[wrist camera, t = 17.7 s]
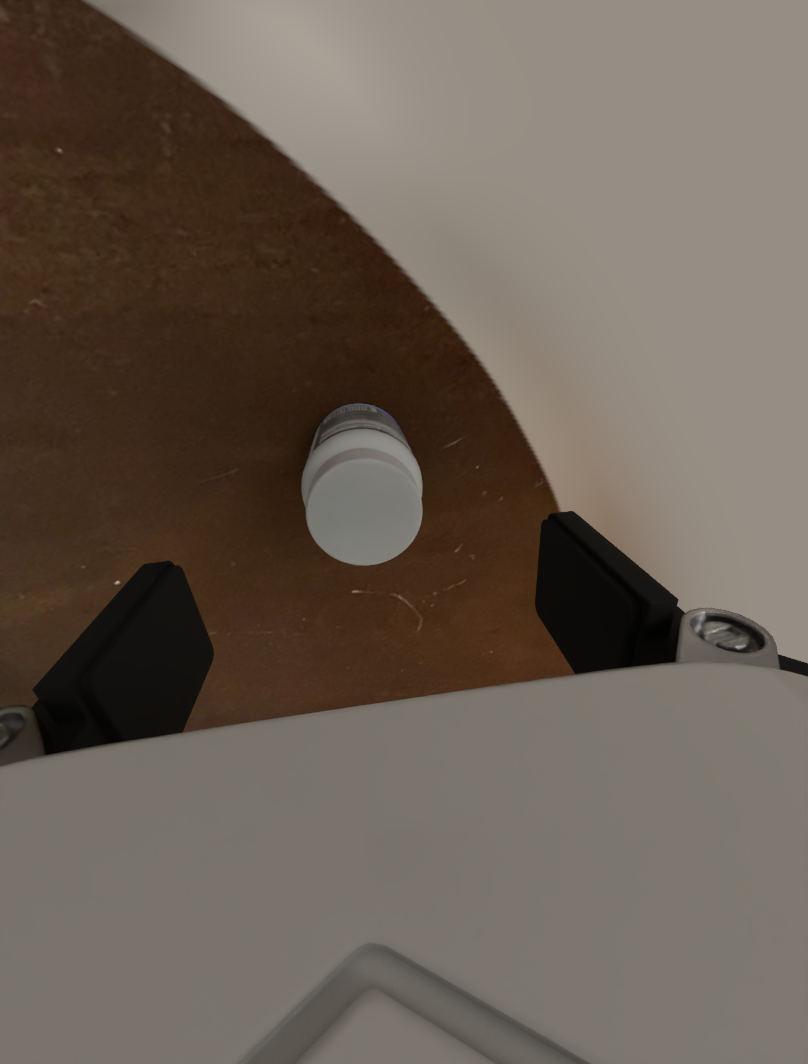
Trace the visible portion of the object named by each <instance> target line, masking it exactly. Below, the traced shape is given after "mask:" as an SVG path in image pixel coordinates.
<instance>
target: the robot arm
mask: <svg viewBox="0 0 808 1064" xmlns="http://www.w3.org/2000/svg"><path fill="white" fill-rule="evenodd" d="M677 603H678V599H677V598H676V597H675V596H674V595H673V594H671V593H670V592H669V591H668V590H666V589H665V588H664V587H663V586H662V585H661V584H659V583H658V582H657V581H656V580H654V579H653V578H652V577H651V576H650V575H649V574H648V573H646V572H645V571H644V570H643V569H642V568H640V567H639V566H638V565H637V564H636V563H634V562H633V561H632V560H631V559H630V558H628V557H627V556H626V555H625V554H624V553H623V552H621V551H620V550H619V549H618V548H617V547H615V546H614V545H613V544H612V543H611V542H609V541H608V540H607V539H606V538H605V537H603V536H602V535H601V534H600V533H599V532H597V531H596V530H595V529H594V528H593V527H591V526H590V525H589V524H588V523H587V522H586V521H584V520H583V519H582V518H581V517H580V516H578V515H577V514H576V513H575V512H573V511H568V512H560V513H552V514H550V515H549V516H548V518H547V520H543V521H542V524H541V534H540V547H539V560H538V573H537V585H536V598H535V606H536V611H537V614H538V616H539V618H540V619H541V621H542V622H543V624H544V625H545V627H546V628H547V630H548V632H549V633H550V635H551V636H552V638H553V639H554V641H555V643H556V644H557V646H558V647H559V649H560V650H561V652H562V654H563V655H564V657H565V658H566V660H567V661H568V663H569V664H570V666H571V668H572V669H573V671H574V672H575V674H574V675H567V676H560V677H553V678H546V679H539V680H532V681H525V682H518V683H511V684H504V685H497V686H490V687H483V688H477V689H470V690H463V691H456V692H450V693H443V694H436V695H430V696H423V697H416V698H410V699H403V700H396V701H389V702H383V703H376V704H369V705H363V706H356V707H349V708H342V709H336V710H329V711H322V712H315V713H309V714H302V715H295V716H288V717H282V718H275V719H268V720H261V721H255V722H248V723H241V724H235V725H228V726H222V727H215V728H209V729H202V730H196V731H189V732H183V730H184V727H185V725H186V723H187V720H188V718H189V716H190V713H191V711H192V708H193V706H194V704H195V701H196V699H197V697H198V694H199V692H200V690H201V687H202V685H203V682H204V680H205V678H206V675H207V673H208V671H209V668H210V666H211V664H212V661H213V656H214V651H213V646H212V643H211V641H210V638H209V636H208V633H207V631H206V628H205V625H204V623H203V620H202V618H201V615H200V613H199V610H198V607H197V605H196V602H195V600H194V597H193V595H192V592H191V589H190V587H189V584H188V582H187V579H186V577H185V574H184V571H183V569H182V568H181V567H180V566H175V565H174V564H173V563H172V562H171V561H165V562H157V563H149V564H144V565H143V566H141V568H140V569H139V570H138V571H137V572H136V573H135V574H134V575H133V577H132V578H131V579H130V580H129V581H128V582H127V583H126V585H125V586H124V587H123V588H122V589H121V590H120V591H119V592H118V594H117V595H116V596H115V597H114V598H113V599H112V600H111V601H110V603H109V604H108V605H107V606H106V607H105V608H104V609H103V610H102V612H101V613H100V614H99V615H98V616H97V617H96V618H95V620H94V621H93V622H92V623H91V624H90V625H89V626H88V627H87V629H86V630H85V631H84V632H83V633H82V634H81V635H80V636H79V638H78V639H77V640H76V641H75V642H74V643H73V644H72V645H71V647H70V648H69V649H68V650H67V651H66V652H65V653H64V654H63V656H62V657H61V658H60V659H59V660H58V661H57V662H56V664H55V665H54V666H53V667H52V668H51V669H50V670H49V671H48V673H47V674H46V675H45V676H44V677H43V678H42V679H41V680H40V682H39V683H38V684H37V685H36V686H35V687H34V688H33V689H32V690H33V691H34V693H35V694H36V696H37V697H38V698H39V700H38V701H37V702H36V703H35V704H34V706H33V707H32V708H31V707H29V706H26V705H11V706H7V707H3V708H0V1064H808V664H807V663H804V662H801V661H798V660H795V659H791V658H788V657H785V656H782V655H778V653H777V647H776V644H775V641H774V639H773V637H772V636H771V635H770V633H769V632H768V631H766V629H765V628H763V627H762V626H760V625H759V624H757V623H756V622H754V621H752V620H750V619H748V618H746V617H744V616H742V615H739V614H736V613H733V612H729V611H726V610H721V609H715V608H698V609H693V610H690V611H688V612H686V613H684V612H683V611H682V610H681V609H680V608H679V607H677ZM182 732H183V733H182Z"/></svg>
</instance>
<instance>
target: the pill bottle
mask: <svg viewBox="0 0 808 1064" xmlns="http://www.w3.org/2000/svg"><path fill="white" fill-rule="evenodd" d="M301 489H302V498H303V502H304V505H305V508H306V521H307V525H308V529H309V531H310V533H311V535H312V537H313V539H314V540H315V542H316V543H317V544H318V545H319V546H320V547H321V549H323V550H324V551H325V552H326V553H327V554H329V555H330V556H332V557H334V558H335V559H338V560H340V561H342V562H345V563H348V564H353V565H375V564H379V563H383V562H385V561H388V560H390V559H392V558H394V557H396V556H397V555H399V554H400V553H401V552H403V551H404V550H405V549H406V548H407V547H408V546H409V545H410V544H411V543H412V541H413V540H414V538H415V537H416V535H417V533H418V530H419V528H420V525H421V521H422V501H421V497H422V477H421V472H420V468H419V465H418V462H417V460H416V459H415V457H414V455H413V453H412V451H411V449H410V447H409V445H408V443H407V440H406V438H405V436H404V435H403V433H402V431H401V429H400V427H399V425H398V424H397V423H396V421H395V420H394V419H393V418H392V417H391V416H390V415H389V414H388V413H386V412H385V411H383V410H382V409H379V408H377V407H375V406H372V405H368V404H350V405H346V406H343V407H340V408H338V409H336V410H334V411H333V412H331V413H330V414H329V415H328V416H327V417H326V418H325V419H324V420H323V421H322V423H321V424H320V426H319V428H318V429H317V431H316V434H315V437H314V439H313V442H312V445H311V448H310V451H309V455H308V457H307V462H306V465H305V468H304V471H303V474H302V485H301Z"/></svg>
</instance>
